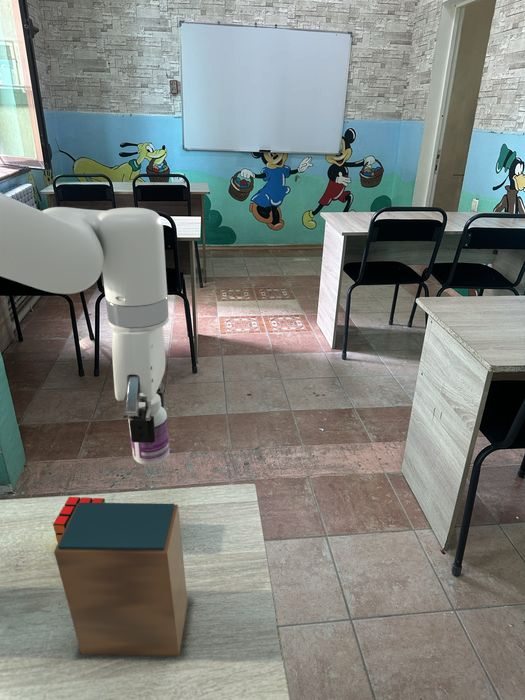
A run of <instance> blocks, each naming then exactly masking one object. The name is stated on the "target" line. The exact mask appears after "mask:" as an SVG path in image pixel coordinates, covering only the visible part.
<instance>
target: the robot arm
mask: <svg viewBox="0 0 525 700" xmlns="http://www.w3.org/2000/svg"><path fill="white" fill-rule="evenodd" d="M163 223H164V222H163V220H162V218H161V215H160V214H158V213H157V212H156V211H155V210H152V209H149V208H145V207H117V208H111V209H107V210H102V209H101V210H99V209H87V208H78V207H77V208H76V207H67V206H54V207H48V208H46V209H43V210H40V209H37V208H35V207H33V206H31V205H29V204H27V203H24V202H21V201H19V200H17V199H14V198H13V197H10V196H8V195H6V194H5V193H2V192H0V277H1V278H4V279H7V280H10V281H13V282H17V283H18V284H19V283H20V284H22V285H24V286H28V287H32V288H34V289H37V290H41V291H44V292H48V293H53V294H60V295H73V294H77V293H81V292H83V291H86V290H88V289H89V288H90V287H92V286H93V285H94V284H95V283H96V282H98V280H99V278H100V276H101V274H102V279H103V280H102V281H103V289H104V295H105V303H106V304H105V306H106V312H107V314H106V315H107V321H108V322H107V323H108V325H109V327H110V328H112V338H111V339H112V341H111V342H112V343H111V345H112V346H111V347H112V351H111V354H112V371H113V386H114V396H115V399H116V401H118V402H121V401H122V402H123V401H124V400H125V399H126V405H125V406H126V407H125V415H126V416H128V418H129V421H128V423H129V422H130V428H129V432H130V431H131V437H130V441H131V440H132V441H133V442H143V443H154V442H155V439H156V436H155V424H154V416H151V400H152V399H153V398H154V397H155V395H156V394H158V395H159V396H160V398H161V407H163V408H164V409H165V403H164V392H162V391H163V382H162V379H163V377H164V374H165V371H166V345H165V335H164V334H165V333H164V326H165V325H167V323H169V320H170V319H169V318H170V317H169V316H170V315H169V301H168V284H167V271H166V270H167V269H166V267H167V266H166V250H165V236H164V224H163ZM140 393H143V394H144V395H146V396H139V395H140ZM139 402H145V410H144V409H143V408H140V407H139Z"/></svg>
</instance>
